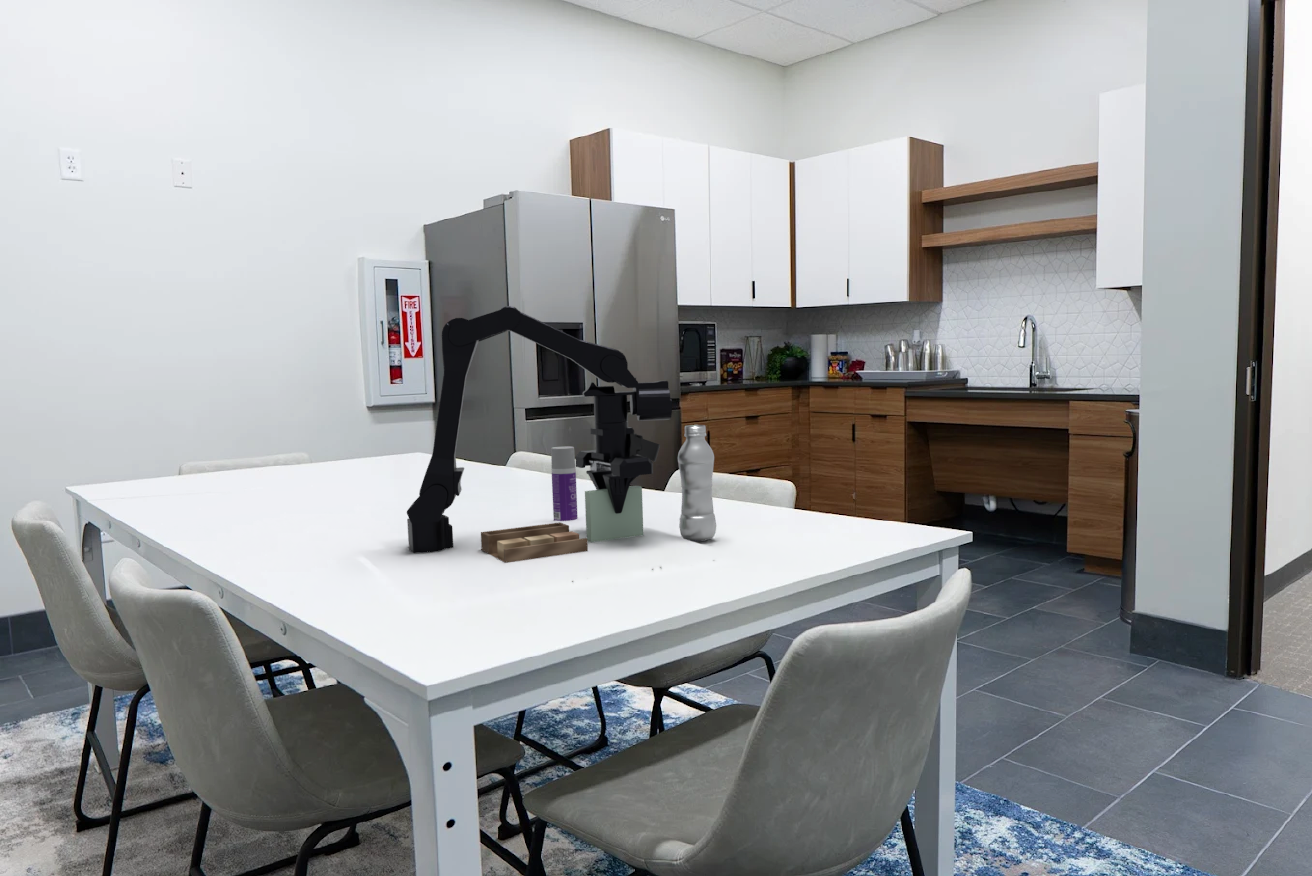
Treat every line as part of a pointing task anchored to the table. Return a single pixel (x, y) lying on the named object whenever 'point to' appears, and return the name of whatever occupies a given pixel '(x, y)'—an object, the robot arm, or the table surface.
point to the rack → (532, 551)
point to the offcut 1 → (510, 545)
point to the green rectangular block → (613, 515)
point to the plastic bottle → (696, 486)
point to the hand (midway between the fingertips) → (614, 512)
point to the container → (564, 483)
